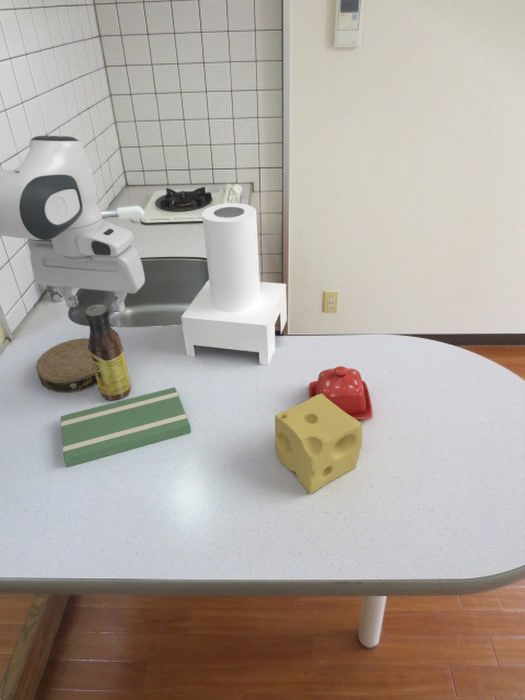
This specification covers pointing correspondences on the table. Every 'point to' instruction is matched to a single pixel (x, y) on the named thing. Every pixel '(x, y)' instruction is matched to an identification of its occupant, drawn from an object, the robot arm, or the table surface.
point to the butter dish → (344, 391)
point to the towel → (122, 426)
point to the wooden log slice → (67, 367)
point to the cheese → (317, 441)
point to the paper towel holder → (234, 288)
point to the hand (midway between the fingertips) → (96, 308)
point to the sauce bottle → (107, 354)
